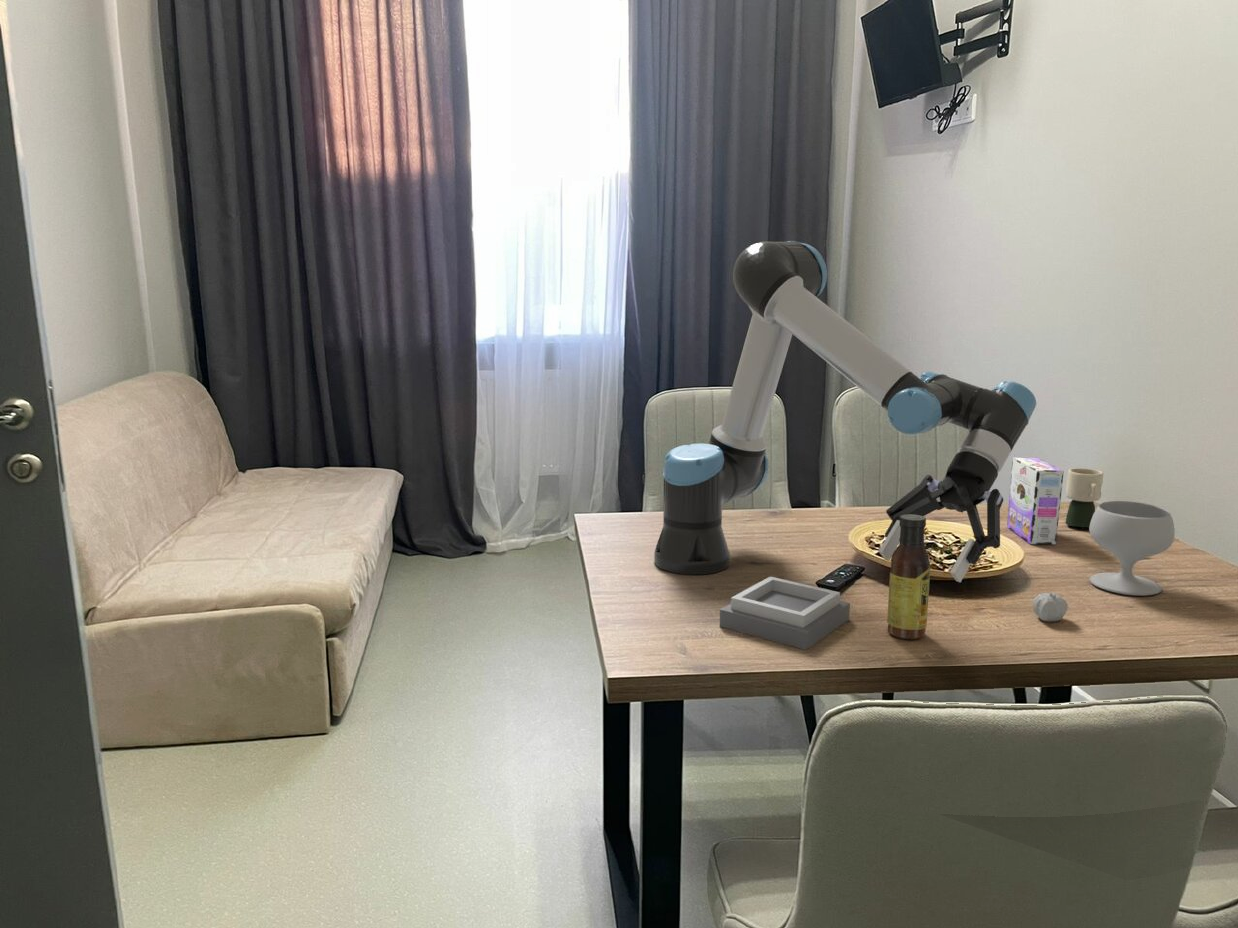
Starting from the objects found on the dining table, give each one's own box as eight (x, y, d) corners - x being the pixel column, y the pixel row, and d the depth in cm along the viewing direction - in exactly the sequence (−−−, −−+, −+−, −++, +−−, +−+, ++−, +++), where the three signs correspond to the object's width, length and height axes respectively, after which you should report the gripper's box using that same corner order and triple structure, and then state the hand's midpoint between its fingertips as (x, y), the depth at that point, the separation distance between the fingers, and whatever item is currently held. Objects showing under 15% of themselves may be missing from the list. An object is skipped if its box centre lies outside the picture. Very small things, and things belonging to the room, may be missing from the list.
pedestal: (719, 626, 162) (720, 598, 161) (766, 599, 174) (767, 572, 173) (806, 649, 153) (807, 620, 151) (849, 619, 165) (850, 591, 164)
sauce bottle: (927, 642, 155) (936, 524, 151) (887, 639, 156) (895, 521, 152) (923, 627, 162) (932, 513, 157) (885, 624, 163) (892, 511, 158)
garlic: (1064, 628, 161) (1067, 598, 160) (1029, 622, 164) (1032, 593, 163) (1067, 616, 166) (1070, 587, 165) (1033, 610, 169) (1036, 582, 168)
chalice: (1085, 569, 190) (1093, 496, 187) (1166, 580, 184) (1176, 504, 181) (1081, 591, 178) (1090, 513, 175) (1168, 604, 172) (1179, 523, 169)
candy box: (1057, 545, 206) (1065, 470, 202) (1029, 545, 206) (1036, 470, 202) (1031, 527, 219) (1038, 456, 216) (1005, 527, 219) (1011, 456, 216)
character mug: (1106, 534, 214) (1113, 477, 211) (1074, 533, 214) (1080, 476, 211) (1085, 520, 224) (1091, 466, 222) (1054, 520, 225) (1059, 465, 222)
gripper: (1056, 490, 155) (996, 599, 149) (922, 463, 174) (865, 559, 168) (1041, 462, 150) (979, 574, 145) (906, 438, 169) (847, 536, 164)
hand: (918, 566), depth 156 cm, fingers open, 13 cm apart
